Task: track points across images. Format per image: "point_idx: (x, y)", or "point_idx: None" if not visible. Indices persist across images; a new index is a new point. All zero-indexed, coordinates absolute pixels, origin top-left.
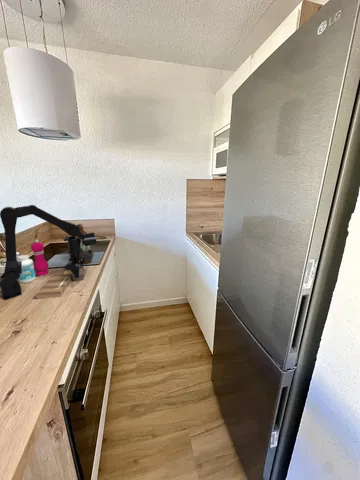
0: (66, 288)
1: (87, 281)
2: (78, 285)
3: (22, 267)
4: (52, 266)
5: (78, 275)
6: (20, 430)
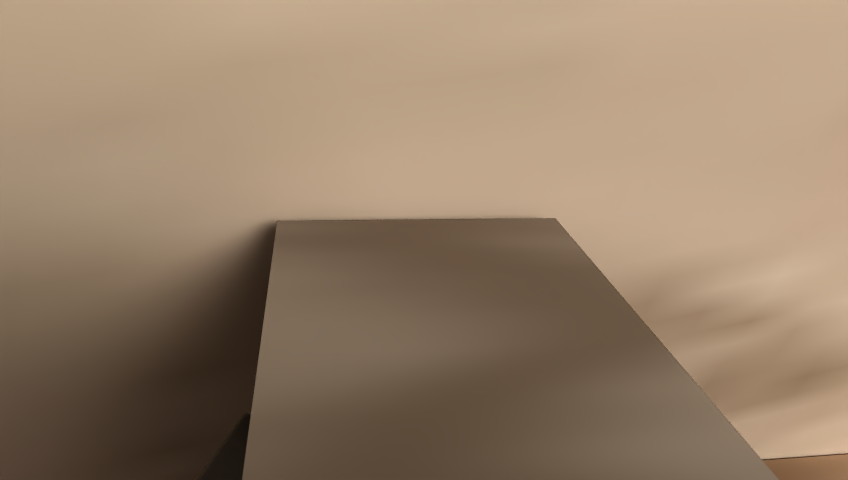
0: (835, 455)
1: (722, 52)
2: (843, 267)
3: None
4: None
5: None
6: None
